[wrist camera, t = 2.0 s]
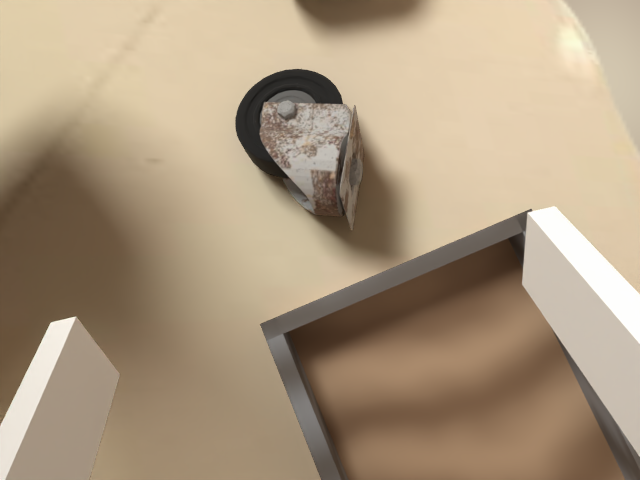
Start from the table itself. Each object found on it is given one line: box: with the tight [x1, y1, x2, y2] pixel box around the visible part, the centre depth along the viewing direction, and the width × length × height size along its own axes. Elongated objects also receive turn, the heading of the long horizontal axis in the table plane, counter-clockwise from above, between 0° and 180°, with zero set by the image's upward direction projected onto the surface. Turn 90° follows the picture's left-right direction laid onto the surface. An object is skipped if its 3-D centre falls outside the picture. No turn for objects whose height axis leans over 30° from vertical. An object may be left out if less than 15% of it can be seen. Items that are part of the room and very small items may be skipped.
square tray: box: [260, 209, 640, 480], centre depth 32 cm, size 20×20×4 cm
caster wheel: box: [235, 69, 364, 231], centre depth 35 cm, size 7×11×10 cm
